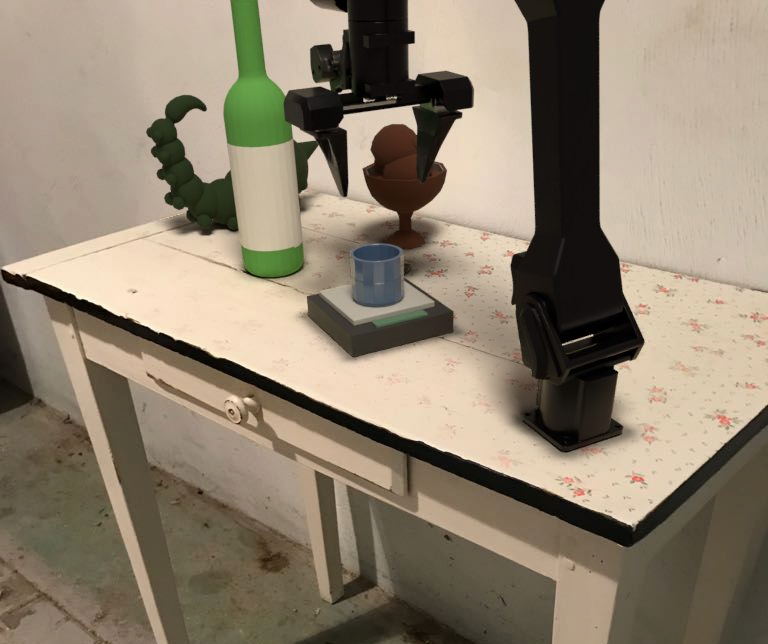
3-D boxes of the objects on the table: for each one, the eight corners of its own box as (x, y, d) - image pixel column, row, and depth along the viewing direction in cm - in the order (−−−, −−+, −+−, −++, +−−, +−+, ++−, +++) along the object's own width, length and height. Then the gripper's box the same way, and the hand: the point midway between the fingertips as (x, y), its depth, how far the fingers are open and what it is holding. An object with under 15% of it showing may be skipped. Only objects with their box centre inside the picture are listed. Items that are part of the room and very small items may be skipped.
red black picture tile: (410, 274, 102) (410, 270, 101) (369, 274, 102) (369, 270, 102) (412, 261, 105) (412, 257, 105) (372, 261, 106) (372, 257, 106)
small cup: (413, 301, 88) (412, 255, 85) (366, 312, 86) (364, 265, 83) (389, 284, 92) (388, 240, 89) (344, 294, 90) (341, 249, 87)
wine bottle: (233, 267, 106) (193, -6, 88) (284, 253, 110) (256, -12, 91) (264, 284, 101) (228, -2, 83) (316, 269, 104) (293, -9, 86)
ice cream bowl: (440, 257, 107) (441, 133, 98) (356, 253, 109) (350, 132, 100) (451, 230, 115) (453, 113, 106) (373, 227, 117) (369, 113, 108)
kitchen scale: (453, 332, 88) (454, 305, 87) (352, 357, 84) (351, 330, 82) (401, 294, 97) (401, 270, 95) (308, 316, 93) (305, 290, 91)
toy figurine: (194, 257, 114) (344, 205, 124) (156, 111, 102) (325, 66, 112) (167, 240, 120) (311, 191, 130) (128, 100, 108) (290, 58, 118)
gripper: (423, 3, 86) (423, 159, 96) (255, 18, 80) (273, 184, 89) (479, 12, 78) (473, 182, 88) (298, 30, 72) (313, 211, 81)
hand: (383, 189), depth 87 cm, fingers open, 9 cm apart
